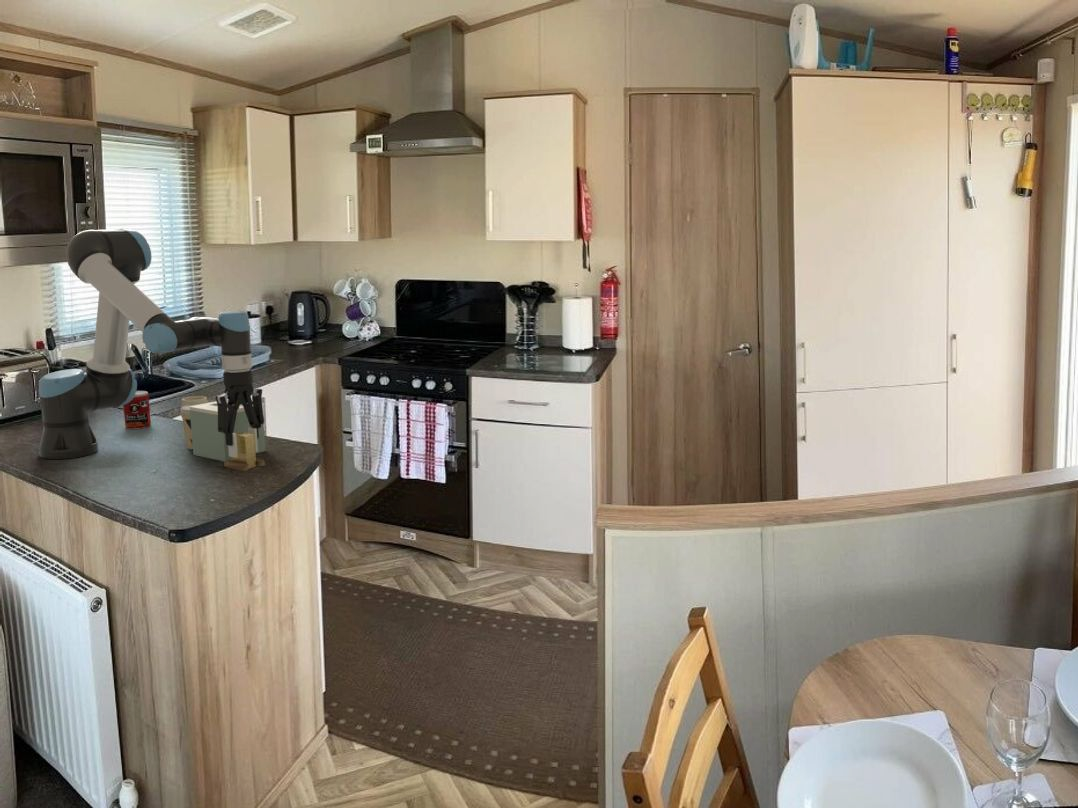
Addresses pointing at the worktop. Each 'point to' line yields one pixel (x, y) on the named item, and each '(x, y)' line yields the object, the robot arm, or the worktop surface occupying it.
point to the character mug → (193, 401)
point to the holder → (242, 464)
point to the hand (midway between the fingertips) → (243, 453)
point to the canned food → (137, 411)
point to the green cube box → (208, 436)
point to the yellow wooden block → (245, 449)
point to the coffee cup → (187, 425)
